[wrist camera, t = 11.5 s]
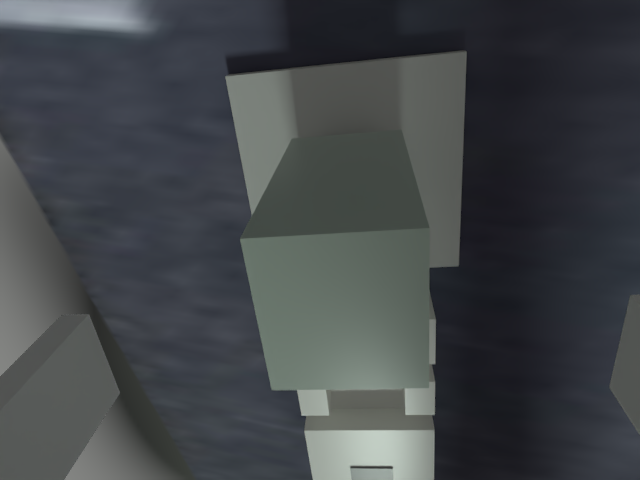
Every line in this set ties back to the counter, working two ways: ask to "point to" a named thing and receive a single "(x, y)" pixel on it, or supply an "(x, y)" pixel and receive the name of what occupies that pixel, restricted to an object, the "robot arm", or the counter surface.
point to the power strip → (372, 429)
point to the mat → (364, 124)
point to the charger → (342, 266)
